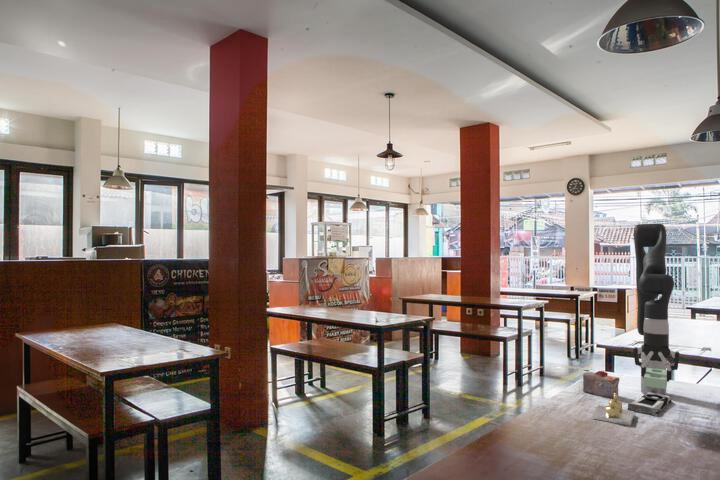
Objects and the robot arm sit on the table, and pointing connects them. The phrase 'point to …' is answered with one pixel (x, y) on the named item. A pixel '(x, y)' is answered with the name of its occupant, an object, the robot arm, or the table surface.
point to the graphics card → (650, 404)
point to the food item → (600, 384)
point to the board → (655, 378)
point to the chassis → (614, 413)
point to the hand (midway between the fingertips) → (656, 379)
